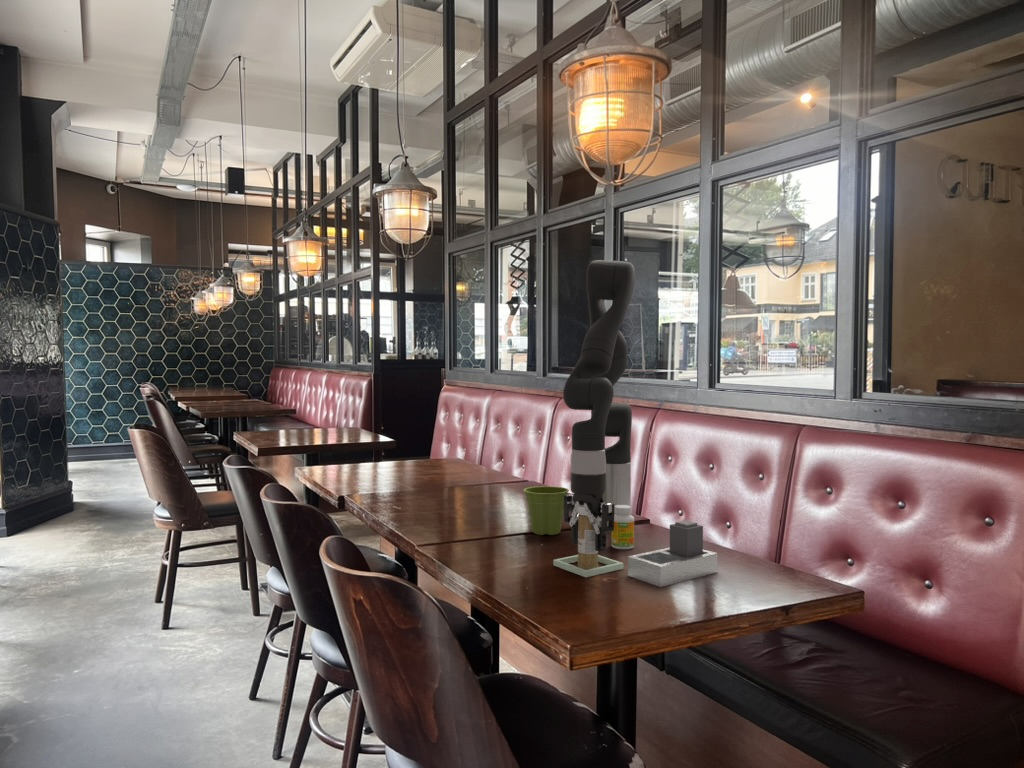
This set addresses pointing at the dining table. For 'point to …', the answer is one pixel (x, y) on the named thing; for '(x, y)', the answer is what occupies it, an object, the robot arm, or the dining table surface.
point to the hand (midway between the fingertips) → (588, 547)
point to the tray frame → (610, 566)
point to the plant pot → (546, 508)
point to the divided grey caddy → (670, 566)
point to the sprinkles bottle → (586, 541)
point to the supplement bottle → (623, 528)
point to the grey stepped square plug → (686, 539)
